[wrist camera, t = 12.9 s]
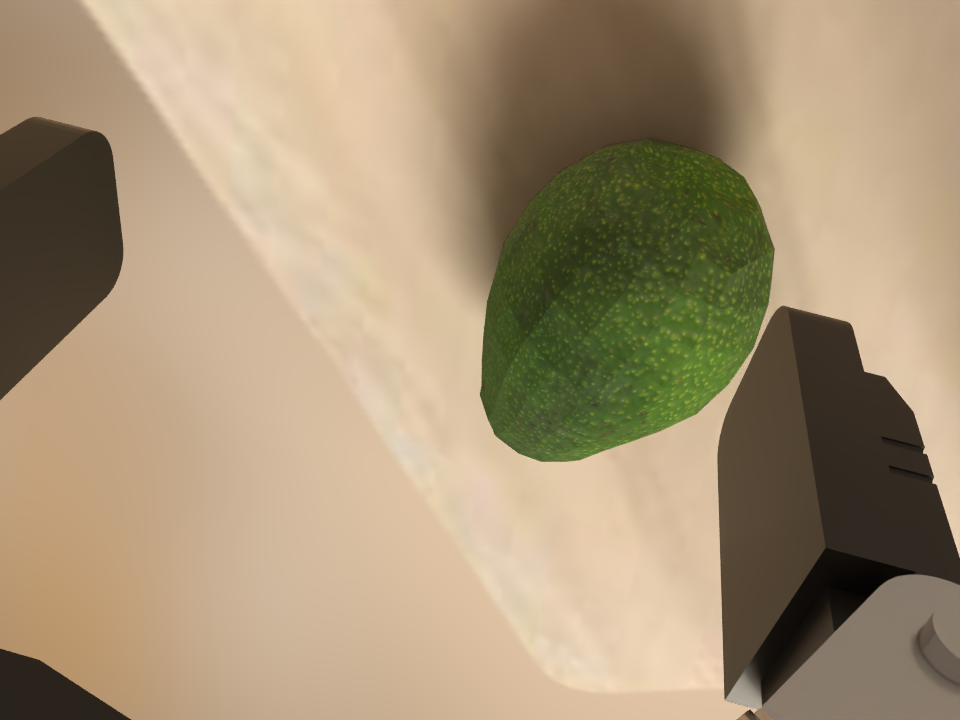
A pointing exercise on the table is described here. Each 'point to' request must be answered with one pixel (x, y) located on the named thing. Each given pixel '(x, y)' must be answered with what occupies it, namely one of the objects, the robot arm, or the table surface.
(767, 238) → the fruit
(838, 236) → the table surface
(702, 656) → the table surface
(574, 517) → the table surface
